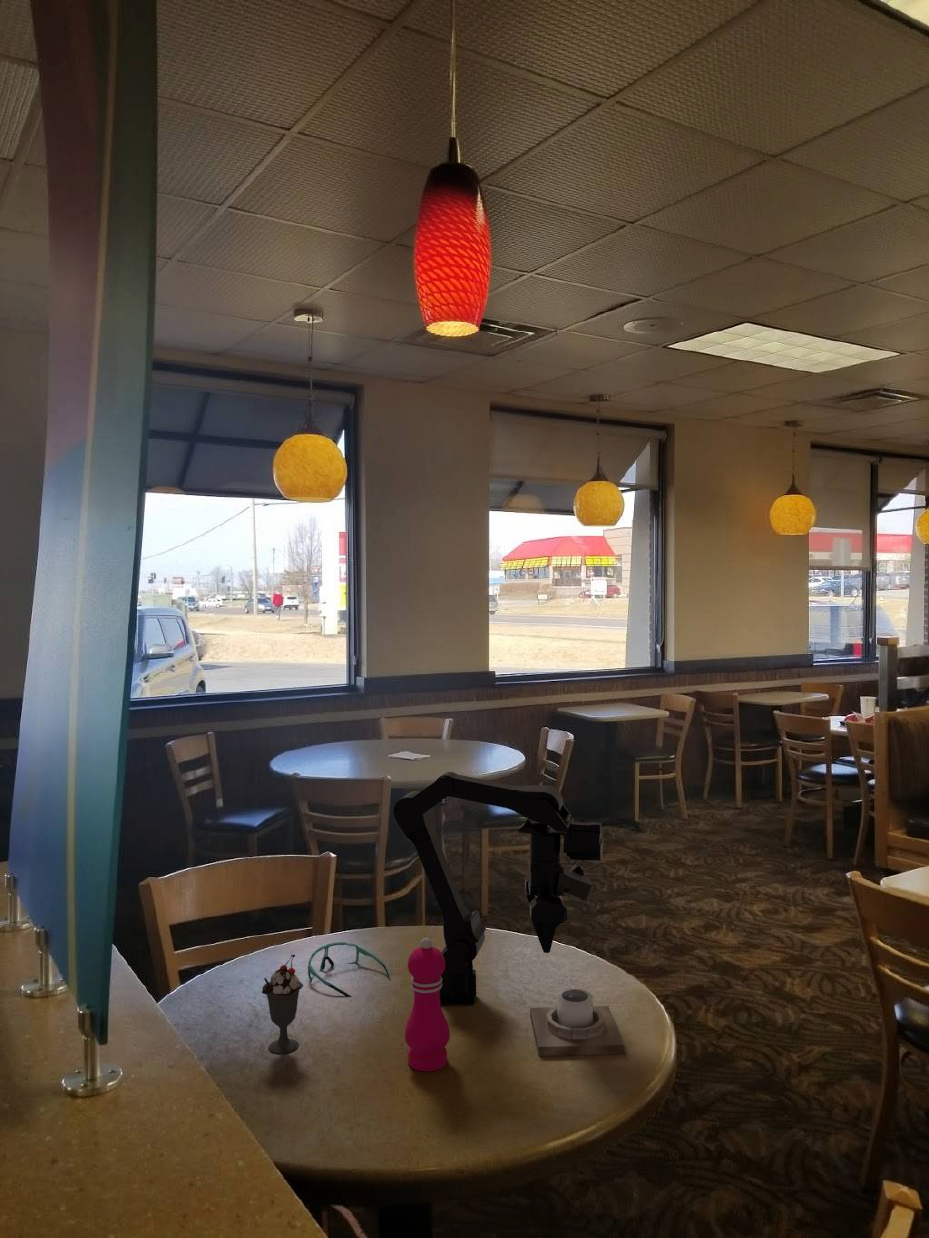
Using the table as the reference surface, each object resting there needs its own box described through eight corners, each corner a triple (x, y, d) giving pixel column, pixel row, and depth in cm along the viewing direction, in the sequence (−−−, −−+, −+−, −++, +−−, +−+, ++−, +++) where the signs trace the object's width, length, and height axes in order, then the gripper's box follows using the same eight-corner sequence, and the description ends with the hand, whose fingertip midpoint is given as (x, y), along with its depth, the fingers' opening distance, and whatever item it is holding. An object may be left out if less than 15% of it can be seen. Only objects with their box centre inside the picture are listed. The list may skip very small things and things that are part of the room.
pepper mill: (416, 1077, 140) (414, 949, 139) (397, 1057, 146) (396, 934, 146) (457, 1066, 143) (456, 941, 143) (437, 1046, 149) (436, 926, 149)
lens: (559, 1034, 150) (559, 1003, 150) (555, 1017, 156) (555, 988, 156) (595, 1033, 150) (595, 1002, 150) (589, 1016, 156) (589, 987, 156)
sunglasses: (351, 957, 188) (352, 934, 187) (398, 985, 177) (400, 961, 177) (295, 978, 177) (296, 954, 177) (342, 1009, 167) (343, 983, 167)
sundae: (311, 1040, 152) (310, 952, 152) (291, 1059, 146) (289, 967, 145) (277, 1034, 154) (275, 947, 154) (255, 1053, 148) (254, 962, 147)
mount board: (538, 1055, 146) (538, 1037, 146) (530, 1016, 160) (529, 999, 160) (624, 1053, 146) (624, 1035, 146) (608, 1014, 160) (608, 997, 160)
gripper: (596, 873, 154) (596, 963, 154) (583, 843, 172) (582, 924, 173) (531, 872, 154) (531, 963, 154) (525, 843, 172) (524, 923, 173)
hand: (544, 942), depth 163 cm, fingers open, 9 cm apart
